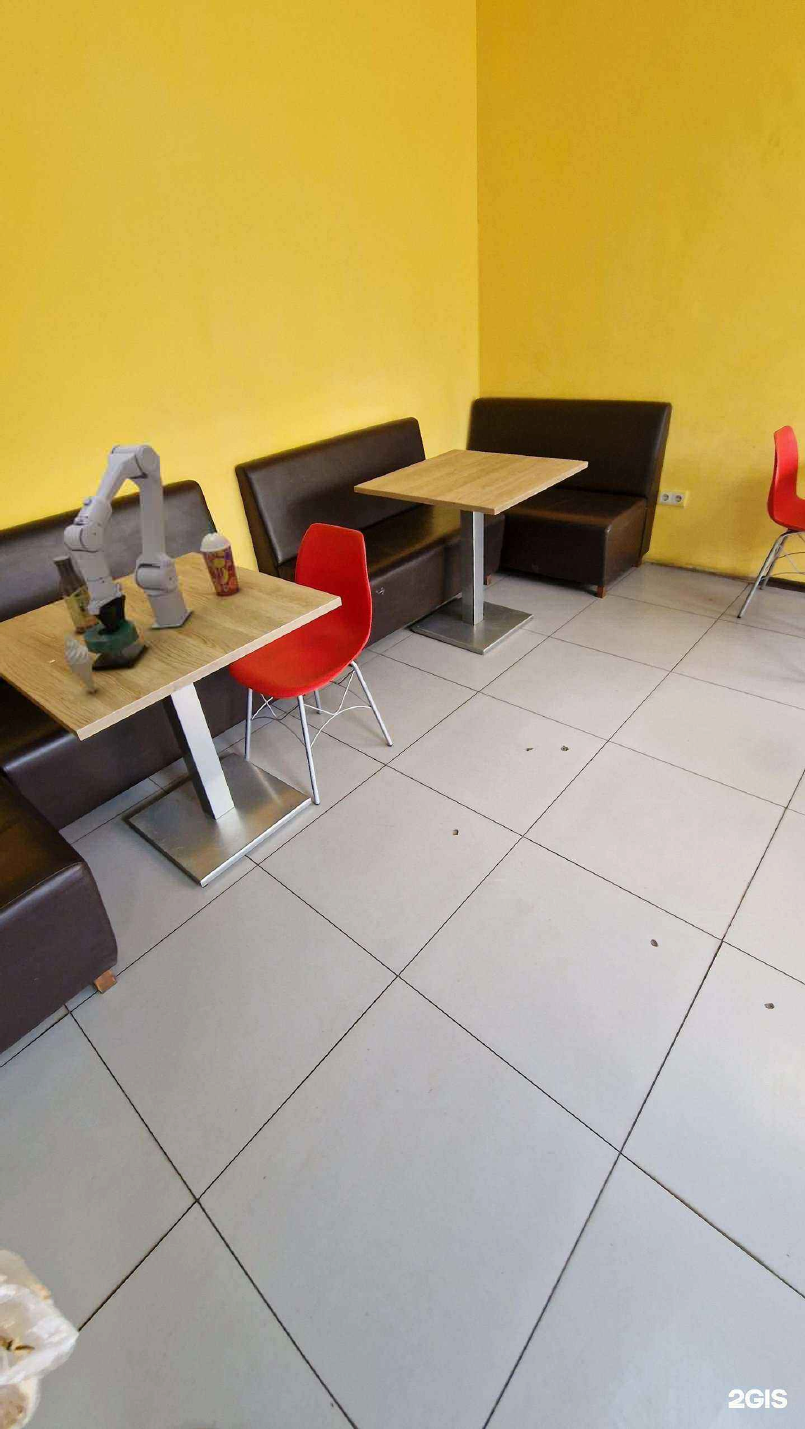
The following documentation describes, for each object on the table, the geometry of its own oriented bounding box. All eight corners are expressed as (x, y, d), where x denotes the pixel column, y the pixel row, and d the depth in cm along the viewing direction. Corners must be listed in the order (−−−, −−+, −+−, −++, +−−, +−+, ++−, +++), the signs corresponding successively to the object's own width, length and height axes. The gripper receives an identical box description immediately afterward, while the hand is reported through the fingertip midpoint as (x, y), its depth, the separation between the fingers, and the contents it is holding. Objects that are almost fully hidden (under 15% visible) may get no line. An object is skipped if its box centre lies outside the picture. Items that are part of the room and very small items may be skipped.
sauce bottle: (92, 633, 168) (62, 562, 157) (72, 633, 170) (41, 563, 159) (106, 623, 174) (78, 553, 163) (87, 623, 175) (58, 554, 164)
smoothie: (212, 589, 186) (193, 522, 175) (240, 583, 188) (223, 516, 177) (214, 599, 180) (194, 530, 168) (243, 593, 181) (225, 524, 170)
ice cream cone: (97, 683, 144) (72, 624, 136) (109, 689, 141) (83, 629, 133) (77, 694, 141) (49, 633, 133) (88, 700, 138) (60, 639, 130)
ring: (100, 633, 157) (96, 621, 155) (145, 629, 156) (141, 617, 154) (79, 655, 147) (74, 643, 145) (127, 651, 146) (122, 639, 144)
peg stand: (108, 651, 158) (100, 631, 155) (147, 648, 157) (139, 627, 154) (91, 671, 150) (82, 650, 147) (131, 667, 149) (123, 647, 146)
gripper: (100, 587, 140) (121, 641, 147) (126, 563, 152) (144, 615, 159) (70, 590, 140) (93, 644, 148) (98, 566, 153) (118, 617, 160)
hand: (118, 629), depth 154 cm, fingers closed on ring, 4 cm apart
